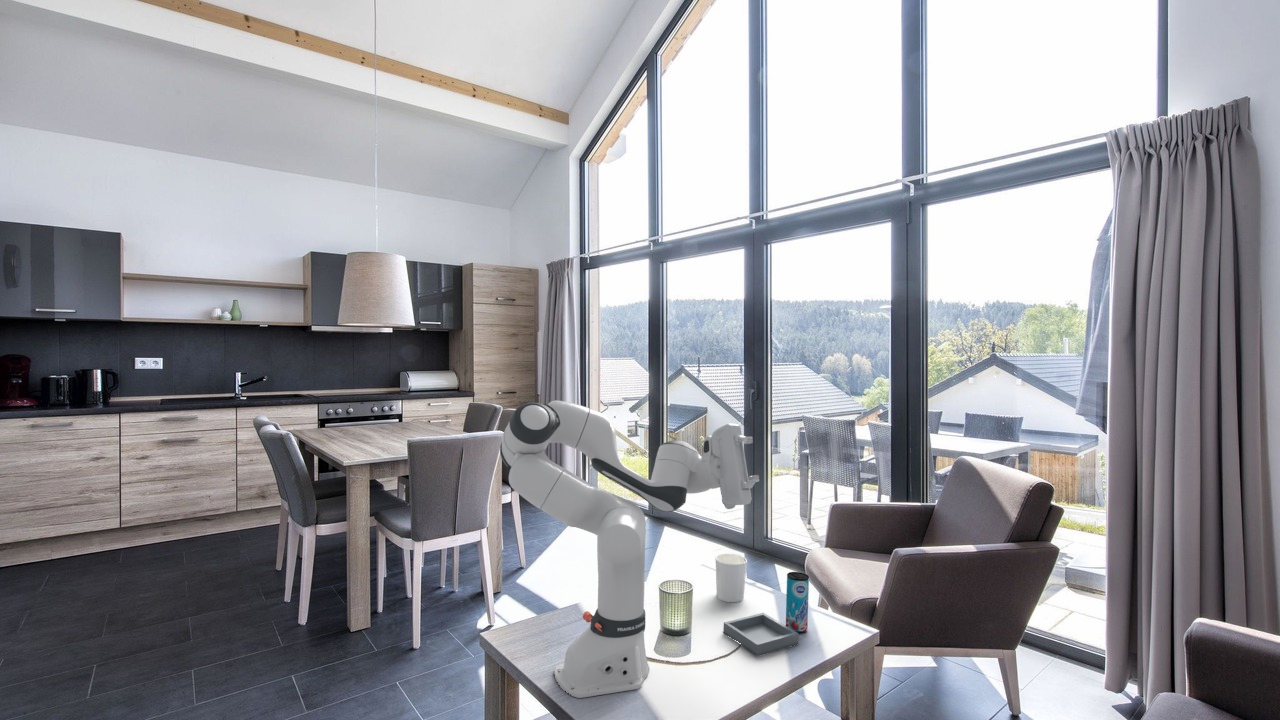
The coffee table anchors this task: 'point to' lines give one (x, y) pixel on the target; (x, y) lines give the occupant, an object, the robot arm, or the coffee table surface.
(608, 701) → the coffee table surface
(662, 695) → the coffee table surface
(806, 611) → the beverage can
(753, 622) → the box
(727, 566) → the candle holder
